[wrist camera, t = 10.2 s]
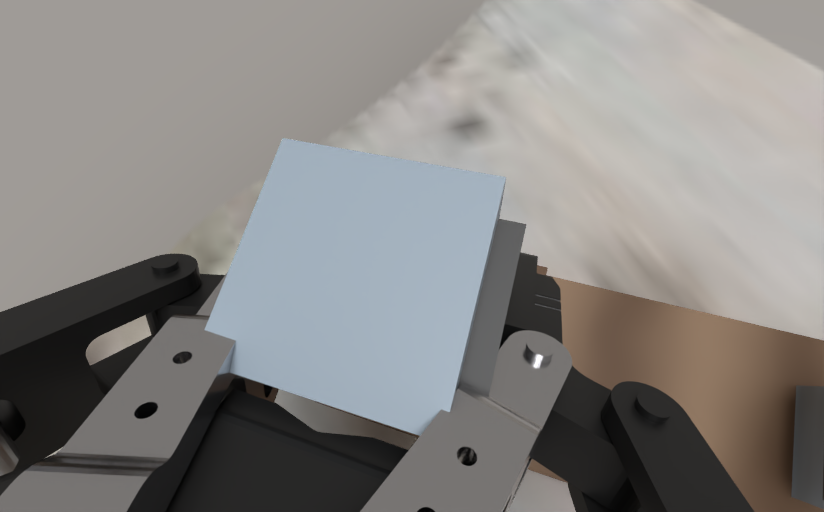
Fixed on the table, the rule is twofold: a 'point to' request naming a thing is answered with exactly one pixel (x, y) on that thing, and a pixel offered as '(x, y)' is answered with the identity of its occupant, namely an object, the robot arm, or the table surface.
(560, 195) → the table surface
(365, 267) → the block
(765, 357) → the wooden block holder
